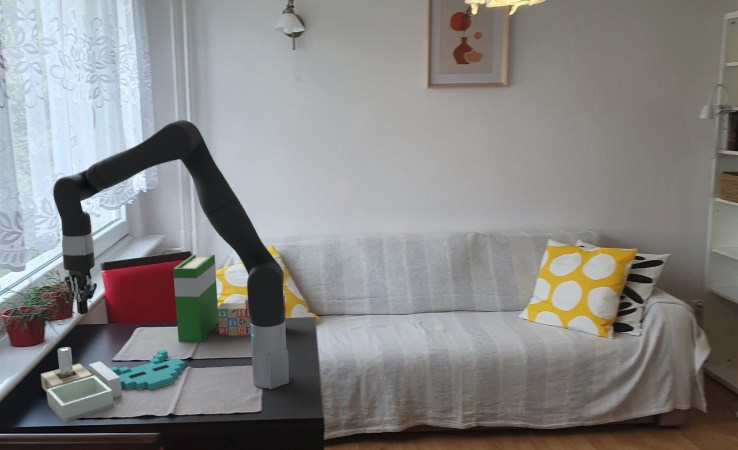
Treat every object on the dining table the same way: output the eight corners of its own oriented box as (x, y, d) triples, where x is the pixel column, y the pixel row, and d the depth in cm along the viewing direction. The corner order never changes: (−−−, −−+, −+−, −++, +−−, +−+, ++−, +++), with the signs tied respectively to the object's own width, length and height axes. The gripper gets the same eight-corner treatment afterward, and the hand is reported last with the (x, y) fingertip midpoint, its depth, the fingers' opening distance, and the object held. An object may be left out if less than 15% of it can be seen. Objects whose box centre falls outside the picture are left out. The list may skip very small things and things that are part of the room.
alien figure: (97, 375, 183) (125, 399, 169) (96, 368, 183) (124, 391, 168) (164, 356, 196) (196, 377, 182) (164, 349, 196) (195, 369, 181)
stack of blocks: (218, 336, 211) (216, 300, 209) (222, 329, 217) (220, 294, 215) (284, 335, 211) (283, 298, 209) (286, 328, 218) (285, 292, 215)
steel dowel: (76, 388, 174) (72, 349, 172) (63, 391, 172) (59, 352, 170) (72, 384, 177) (68, 346, 175) (59, 387, 175) (56, 349, 173)
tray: (113, 406, 164) (112, 390, 163) (63, 422, 156) (61, 405, 155) (96, 390, 173) (94, 375, 172) (48, 405, 165) (46, 389, 164)
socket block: (93, 388, 174) (92, 374, 173) (54, 400, 168) (52, 386, 167) (80, 376, 182) (79, 363, 181) (42, 387, 175) (40, 374, 174)
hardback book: (197, 322, 224) (193, 254, 219) (218, 322, 223) (214, 254, 218) (178, 341, 207) (173, 268, 202) (201, 342, 206) (196, 268, 201)
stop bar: (121, 394, 170) (120, 377, 169) (110, 398, 168) (108, 380, 167) (101, 378, 180) (100, 361, 179) (90, 381, 179) (89, 364, 178)
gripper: (51, 249, 172) (57, 311, 176) (77, 257, 164) (82, 322, 168) (79, 244, 178) (83, 304, 181) (105, 252, 170) (109, 315, 173)
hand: (82, 313), depth 175 cm, fingers closed
